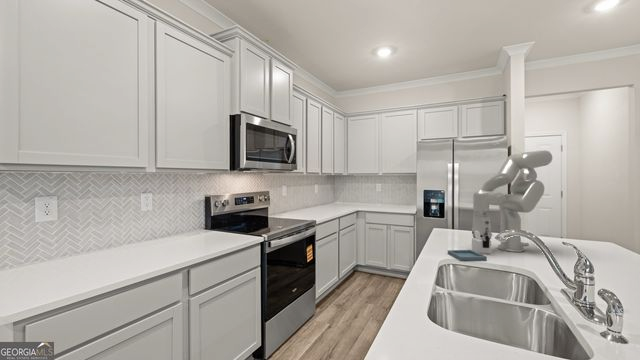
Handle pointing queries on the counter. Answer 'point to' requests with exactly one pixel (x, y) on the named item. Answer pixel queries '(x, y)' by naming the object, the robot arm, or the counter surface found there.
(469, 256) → the tray
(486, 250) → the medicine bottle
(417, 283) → the counter surface
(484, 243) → the robot arm
